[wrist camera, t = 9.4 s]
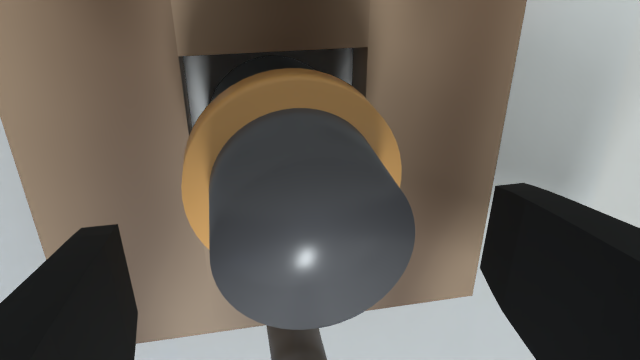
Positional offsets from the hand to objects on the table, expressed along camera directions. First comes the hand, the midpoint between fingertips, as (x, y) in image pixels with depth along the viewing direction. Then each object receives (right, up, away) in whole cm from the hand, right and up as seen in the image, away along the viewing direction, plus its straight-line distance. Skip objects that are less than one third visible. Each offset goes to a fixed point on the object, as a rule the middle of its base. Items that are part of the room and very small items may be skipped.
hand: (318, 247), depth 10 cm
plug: (-1, +3, +6) cm, 7 cm away
